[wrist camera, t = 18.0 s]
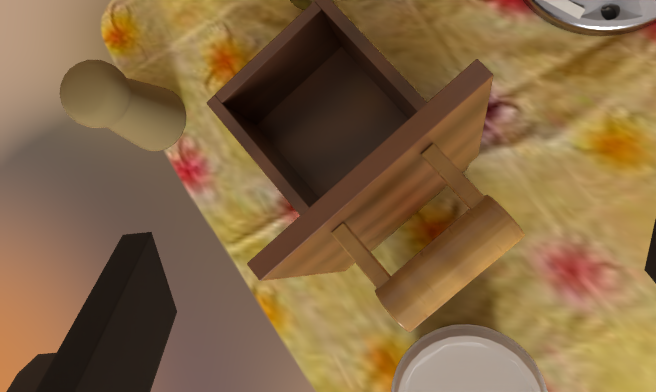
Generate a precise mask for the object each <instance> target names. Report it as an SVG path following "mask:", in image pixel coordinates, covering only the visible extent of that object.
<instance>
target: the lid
mask: <svg viewBox="0 0 656 392" xmlns="http://www.w3.org/2000/svg"><path fill="white" fill-rule="evenodd" d="M492 79H493V74H492V73H491V72H490V71H489V70H488V69H487V68H486V67H485V66H484V65H483V64H482V63H481V62H480V61H479V60H478V59H476V60H475V61H474V62H473V63H471V64H470V65H469V66H468V67H467V68H466V69H465V70H464V71H462V72H461V73H460V74H459V75H458V76H457V77H456V78H455V79H453V80H452V81H451V82H450V83H449V84H448V85H447V86H446V87H444V88H443V89H442V90H441V91H440V92H439V93H438V94H437V95H435V96H434V97H433V98H432V99H431V100H430V101H429V102H428V103H427V104H425V105H424V106H423V107H422V108H421V109H420V110H419V111H418V112H416V113H415V114H414V115H413V116H412V117H411V118H410V119H409V120H407V121H406V122H405V123H404V124H403V125H402V126H401V127H400V128H398V129H397V130H396V131H395V132H394V133H393V134H392V135H391V136H389V137H388V138H387V139H386V140H385V141H384V142H383V143H382V144H380V145H379V146H378V147H377V148H376V149H375V150H374V151H373V152H371V153H370V154H369V155H368V156H367V157H366V158H365V159H364V160H362V161H361V162H360V163H359V164H358V165H357V166H356V167H355V168H354V169H352V170H351V171H350V172H349V173H348V174H347V175H346V176H345V177H343V178H342V179H341V180H340V181H339V182H338V183H337V184H336V185H334V186H333V187H332V188H331V189H330V190H329V191H328V192H327V193H325V194H324V195H323V196H322V197H321V198H320V199H319V200H318V201H316V202H315V203H314V204H313V205H312V206H311V207H310V208H309V209H307V210H306V211H305V212H304V213H303V214H302V215H301V216H300V217H298V218H297V219H296V220H295V221H294V222H293V223H292V224H291V225H289V226H288V227H287V228H286V229H285V230H284V231H283V232H282V233H281V234H279V235H278V236H277V237H276V238H275V239H274V240H273V241H272V242H270V243H269V244H268V245H267V246H266V247H265V248H264V249H263V250H261V251H260V252H259V253H258V254H257V255H256V256H255V257H254V258H252V259H251V260H250V261H249V262H248V263H247V265H248V266H249V267H250V269H251V270H252V271H253V273H254V274H255V275H256V276H257V278H258V279H259V280H260V281H263V280H272V279H281V278H289V277H298V276H307V275H315V274H324V273H332V272H341V271H346V270H347V269H348V268H349V267H350V266H351V265H353V264H354V263H356V264H357V265H358V266H359V267H360V269H361V270H362V271H363V272H364V273H365V275H366V276H367V277H368V278H369V279H370V281H371V282H372V283H373V284H374V285H375V287H376V288H377V289H376V290H375V292H376V295H377V297H378V299H379V300H380V302H381V303H382V305H383V306H384V307H385V309H386V310H387V311H388V312H389V314H390V315H391V316H392V317H393V318H394V319H395V321H396V322H397V323H398V324H399V325H400V326H401V327H402V328H404V329H405V330H406V331H408V332H411V331H412V330H414V329H415V328H416V327H417V326H418V325H420V324H421V323H422V322H423V321H424V320H425V319H427V318H428V317H429V316H430V315H431V314H433V313H434V312H435V311H436V310H437V309H439V308H440V307H441V306H442V305H443V304H445V303H446V302H447V301H448V300H449V299H451V298H452V297H453V296H454V295H455V294H456V293H458V292H459V291H460V290H461V289H462V288H464V287H465V286H466V285H467V284H468V283H470V282H471V281H472V280H473V279H474V278H476V277H477V276H478V275H479V274H480V273H481V272H483V271H484V270H485V269H486V268H487V267H489V266H490V265H491V264H492V263H493V262H495V261H496V260H497V259H498V258H499V257H501V256H502V255H503V254H504V253H505V252H507V251H508V250H509V249H510V248H511V247H512V246H514V245H515V244H516V243H517V242H518V241H520V240H521V239H522V238H523V237H524V236H525V235H524V232H523V231H522V229H521V228H520V227H519V225H518V224H517V223H516V222H515V220H514V219H513V218H512V217H511V216H510V215H509V214H508V213H507V212H506V211H505V210H504V209H503V208H502V207H501V206H500V205H499V204H498V203H497V202H496V201H495V200H494V199H493V198H491V197H490V196H488V195H486V196H483V195H482V194H481V193H480V192H479V191H478V190H477V188H476V187H475V186H474V185H473V184H472V183H471V182H470V181H469V180H468V179H467V178H466V177H465V176H464V175H463V174H462V172H461V170H462V169H463V168H464V167H466V166H467V165H468V164H469V163H470V162H471V161H473V160H474V159H475V158H476V157H477V156H478V153H479V148H480V143H481V137H482V132H483V127H484V122H485V116H486V111H487V106H488V100H489V95H490V90H491V85H492ZM446 183H447V184H448V185H449V187H450V188H451V189H452V190H453V191H454V192H455V193H456V194H457V195H458V196H459V197H460V199H461V200H462V201H463V202H464V203H465V204H466V205H467V206H468V207H469V208H470V209H469V210H468V211H467V212H466V213H464V214H463V215H462V216H461V217H460V218H459V219H457V220H456V221H455V222H454V223H453V224H452V225H450V226H449V227H448V228H447V229H446V230H445V231H443V232H442V233H441V234H440V235H439V236H438V237H436V238H435V239H434V240H433V241H432V242H431V243H429V244H428V245H427V246H426V247H425V248H424V249H422V250H421V251H420V252H419V253H418V254H417V255H415V256H414V257H413V258H412V259H411V260H410V261H408V262H407V263H406V264H405V265H404V266H403V267H401V268H400V269H399V270H398V271H397V272H396V273H394V274H393V275H392V276H390V275H389V273H388V272H387V271H386V270H385V269H384V268H383V266H382V265H381V264H380V263H379V262H378V260H377V259H376V258H375V257H374V256H373V254H372V253H371V252H370V251H369V250H370V249H371V248H372V247H373V246H375V245H376V244H377V243H378V242H379V241H380V240H381V239H383V238H384V237H385V236H386V235H387V234H388V233H389V232H391V231H392V230H393V229H394V228H395V227H396V226H398V225H399V224H400V223H401V222H402V221H403V220H404V219H406V218H407V217H408V216H409V215H410V214H411V213H413V212H414V211H415V210H416V209H417V208H418V207H419V206H421V205H422V204H423V203H424V202H425V201H426V200H428V199H429V198H430V197H431V196H432V195H433V194H434V193H436V192H437V191H438V190H439V189H440V188H441V187H443V186H444V185H445V184H446Z"/></svg>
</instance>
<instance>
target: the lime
mask: <svg viewBox="0 0 656 392" xmlns="http://www.w3.org/2000/svg"><path fill="white" fill-rule="evenodd" d="M290 1H291V2H292V3H293V4H294V5H295V6H296V7H298V8H300V9H302V10H305V9H306V8H307V7H308V6H310V5H311V4H312V3H313V2H315V0H290ZM331 1H332V2H333V0H331Z"/></svg>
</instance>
